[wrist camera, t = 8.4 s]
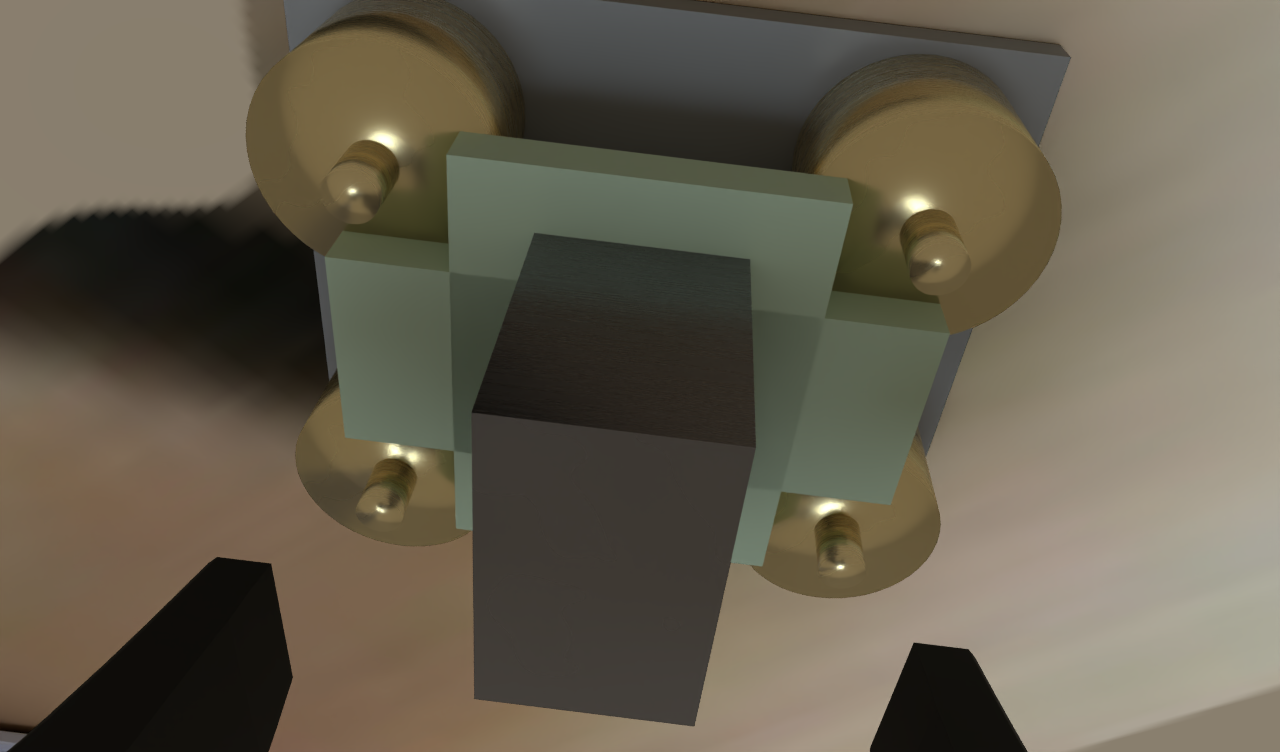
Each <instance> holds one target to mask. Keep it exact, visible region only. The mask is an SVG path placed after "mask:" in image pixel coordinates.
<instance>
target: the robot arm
mask: <svg viewBox="0 0 1280 752" xmlns="http://www.w3.org/2000/svg"><path fill="white" fill-rule="evenodd" d="M292 678H293V676H292V671H291V665H290V660H289V655H288V650H287V644H286V639H285V634H284V629H283V624H282V618H281V613H280V608H279V603H278V597H277V592H276V587H275V582H274V576H273V571H272V566H271V564H269V563H261V562H253V561H245V560H237V559H229V558H220V557H217V558H215V559H214V560H212V561H211V562H209V563H208V564H207V565H206V566H205V567H204V568H203V569H202V570H201V571H200V572H199V573H198V574H197V575H196V576H195V577H194V578H193V579H192V580H191V581H190V582H189V583H188V584H187V585H186V586H185V587H184V588H183V589H182V590H181V591H180V592H179V593H178V594H177V595H176V596H175V597H174V598H173V599H172V600H171V601H169V602H168V603H167V604H166V605H165V606H164V607H163V608H162V609H161V610H160V611H159V612H158V613H157V614H156V615H155V616H154V617H153V618H152V619H151V620H150V621H149V622H148V623H147V624H146V625H145V626H144V627H143V628H142V629H141V630H140V631H139V632H138V633H137V634H136V635H134V636H133V637H132V638H131V639H130V640H129V641H128V642H127V643H126V644H125V645H124V646H123V647H122V648H121V649H120V650H119V651H118V652H117V653H116V654H115V655H114V656H113V657H111V658H110V659H109V660H108V661H107V662H106V663H105V664H104V665H103V666H102V667H101V668H100V669H99V670H97V671H96V672H95V673H94V674H93V675H92V676H91V677H90V678H89V679H88V680H87V681H85V682H84V683H83V684H82V685H81V686H80V687H79V688H78V689H77V690H76V691H75V692H74V693H72V694H71V695H70V696H69V697H68V698H67V699H66V700H65V701H64V702H63V703H62V704H60V705H59V706H58V707H57V708H56V709H55V710H54V711H53V712H52V713H51V714H50V715H48V716H47V717H46V718H45V719H44V720H43V721H42V722H41V723H39V724H38V725H37V726H36V727H35V728H34V729H33V730H32V731H30V732H29V733H28V734H24V733H16V732H8V731H0V752H268V751H269V749H270V746H271V743H272V740H273V737H274V734H275V731H276V728H277V725H278V722H279V719H280V716H281V713H282V710H283V706H284V703H285V700H286V697H287V694H288V691H289V688H290V685H291V681H292ZM870 752H1027V750H1026V748H1025V746H1024V745H1023V743H1022V741H1021V740H1020V738H1019V736H1018V734H1017V732H1016V731H1015V729H1014V727H1013V725H1012V724H1011V722H1010V720H1009V718H1008V717H1007V715H1006V713H1005V711H1004V709H1003V708H1002V706H1001V704H1000V702H999V700H998V699H997V697H996V695H995V693H994V691H993V689H992V688H991V686H990V684H989V682H988V680H987V679H986V677H985V675H984V673H983V671H982V669H981V668H980V666H979V664H978V662H977V660H976V658H975V657H974V656H973V654H972V653H971V652H970V651H969V649H962V648H953V647H945V646H937V645H929V644H921V643H913V646H912V648H911V651H910V653H909V656H908V658H907V660H906V663H905V665H904V668H903V670H902V672H901V675H900V677H899V680H898V682H897V684H896V687H895V689H894V692H893V694H892V697H891V699H890V701H889V704H888V706H887V709H886V711H885V713H884V716H883V718H882V721H881V723H880V725H879V728H878V730H877V733H876V735H875V738H874V740H873V742H872V745H871V747H870Z"/></svg>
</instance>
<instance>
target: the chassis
mask: <svg viewBox="0 0 1280 752" xmlns="http://www.w3.org/2000/svg"><path fill="white" fill-rule="evenodd" d="M284 8H285V16H286V25H287V33H288V41H289V50H290V53H288V54H287V55H286V56H285V57H284V58H283V59H282V60H280V61H279V62H278V63H277V64H276V65H275V66H273V67H272V68H271V70H270V71H269V72H268V73H267V74H266V76H265V77H264V78H263V79H262V81H261V82H260V84H259V86H258V88H257V89H256V91H255V93H254V96H253V98H252V101H251V104H250V107H249V111H248V117H247V122H246V143H247V153H248V157H249V162H250V166H251V169H252V172H253V175H254V178H255V180H256V183H257V185H258V187H259V189H260V191H261V193H262V195H263V197H264V198H265V200H266V201H267V203H268V205H269V206H270V208H271V209H272V211H273V212H274V213H275V214H276V216H277V217H278V218H279V219H280V220H281V222H282V223H283V224H284V225H285V226H286V227H287V228H288V229H289V230H290V231H291V232H292V233H293V234H294V235H295V236H296V237H298V238H299V239H300V240H301V241H302V242H304V243H305V244H306V245H307V246H309V247H310V248H312V249H313V250H314V257H315V265H316V274H317V282H318V290H319V298H320V307H321V315H322V323H323V332H324V340H325V348H326V356H327V365H328V373H329V383H328V385H327V387H326V388H325V390H324V392H323V394H322V395H321V397H320V399H319V401H318V402H317V404H316V406H315V408H314V410H313V411H312V413H311V415H310V417H309V418H308V420H307V422H306V424H305V425H304V427H303V429H302V431H301V433H300V435H299V438H298V441H297V444H296V452H295V457H296V466H297V470H298V474H299V476H300V479H301V481H302V483H303V485H304V487H305V489H306V490H307V492H308V493H309V495H310V496H311V497H312V499H313V500H314V501H315V502H316V503H317V504H318V506H319V507H320V508H321V509H322V510H323V511H325V512H326V513H327V514H328V515H329V516H330V517H332V518H333V519H335V520H336V521H337V522H339V523H340V524H342V525H343V526H345V527H347V528H349V529H350V530H352V531H354V532H357V533H359V534H361V535H363V536H366V537H369V538H371V539H374V540H377V541H381V542H385V543H389V544H395V545H402V546H430V545H437V544H442V543H446V542H449V541H452V540H455V539H458V538H460V537H462V536H464V535H466V534H467V533H469V532H470V531H472V530H464V529H456V513H455V474H454V451H449V450H441V449H433V448H425V447H417V446H409V445H401V444H393V443H384V442H376V441H368V440H360V439H352V438H345V432H344V423H343V415H342V406H341V397H340V388H339V379H338V371H337V362H336V353H335V344H334V335H333V326H332V318H331V309H330V300H329V291H328V282H327V274H326V265H325V256H326V254H327V253H328V251H329V250H330V248H331V247H332V246H333V244H334V243H335V241H336V240H337V238H338V237H339V235H340V234H341V233H342V231H349V232H357V233H365V234H374V235H382V236H390V237H398V238H406V239H414V240H422V241H431V242H439V243H447V244H449V239H448V200H447V160H446V154H447V153H448V151H449V149H450V147H451V146H452V144H453V142H454V141H455V139H456V137H457V136H458V134H459V132H460V131H463V132H471V133H479V134H488V135H496V136H504V137H512V138H520V139H528V140H537V141H545V142H553V143H561V144H569V145H578V146H586V147H594V148H602V149H610V150H619V151H627V152H635V153H643V154H651V155H659V156H668V157H676V158H684V159H692V160H700V161H709V162H717V163H725V164H733V165H741V166H750V167H758V168H766V169H774V170H782V171H791V172H799V173H807V174H815V175H823V176H831V177H840V178H847V179H848V184H849V188H850V192H851V197H852V201H853V207H852V211H851V215H850V219H849V223H848V227H847V231H846V235H845V239H844V243H843V247H842V251H841V255H840V259H839V263H838V267H837V271H836V275H835V279H834V283H833V287H832V291H838V292H846V293H854V294H863V295H871V296H879V297H887V298H895V299H903V300H911V301H920V302H928V303H936V304H940V305H941V308H942V311H943V314H944V317H945V320H946V323H947V326H948V329H949V332H950V335H949V338H948V341H947V344H946V347H945V349H944V352H943V355H942V358H941V361H940V364H939V367H938V370H937V372H936V375H935V378H934V381H933V384H932V387H931V390H930V393H929V395H928V398H927V401H926V404H925V407H924V410H923V413H922V416H921V418H920V421H919V424H918V427H917V430H916V433H915V436H914V439H913V442H912V444H911V447H910V450H909V453H908V456H907V459H906V462H905V465H904V467H903V470H902V473H901V476H900V479H899V482H898V485H897V488H896V490H895V493H894V496H893V499H892V502H891V505H885V504H877V503H869V502H861V501H853V500H845V499H837V498H829V497H821V496H813V495H805V494H797V493H788V492H781V494H780V498H779V502H778V506H777V510H776V514H775V518H774V522H773V526H772V530H771V534H770V538H769V542H768V546H767V550H766V554H765V558H764V562H763V566H754V565H751V566H752V568H753V569H754V570H755V571H756V572H758V573H759V574H760V575H761V576H762V577H764V578H765V579H767V580H768V581H770V582H771V583H773V584H775V585H777V586H779V587H781V588H784V589H786V590H789V591H792V592H795V593H799V594H802V595H807V596H813V597H822V598H847V597H856V596H861V595H866V594H870V593H874V592H877V591H880V590H883V589H885V588H888V587H890V586H892V585H894V584H896V583H898V582H900V581H902V580H904V579H905V578H907V577H908V576H910V575H911V574H912V573H914V572H915V571H916V570H917V569H918V568H919V567H920V566H921V565H922V564H923V563H924V562H925V561H926V560H927V559H928V557H929V556H930V554H931V553H932V551H933V549H934V547H935V545H936V543H937V540H938V537H939V533H940V525H941V524H940V513H939V509H938V505H937V501H936V497H935V493H934V489H933V485H932V481H931V477H930V473H929V469H928V465H927V461H926V455H927V453H928V450H929V447H930V444H931V442H932V439H933V436H934V433H935V431H936V428H937V425H938V422H939V420H940V417H941V414H942V411H943V409H944V406H945V403H946V400H947V398H948V395H949V392H950V389H951V387H952V384H953V381H954V378H955V376H956V373H957V370H958V367H959V364H960V362H961V359H962V356H963V353H964V351H965V348H966V345H967V342H968V340H969V337H970V334H971V331H972V329H973V327H976V326H978V325H980V324H982V323H984V322H986V321H988V320H990V319H992V318H993V317H995V316H997V315H998V314H1000V313H1001V312H1003V311H1004V310H1006V309H1007V308H1008V307H1010V306H1011V305H1012V304H1014V303H1015V302H1016V301H1017V300H1018V299H1019V298H1020V297H1021V296H1022V295H1023V294H1025V293H1026V292H1027V291H1028V290H1029V288H1030V287H1031V286H1032V285H1033V284H1034V282H1035V281H1036V280H1037V279H1038V278H1039V276H1040V274H1041V273H1042V271H1043V270H1044V268H1045V267H1046V265H1047V263H1048V261H1049V259H1050V257H1051V255H1052V253H1053V251H1054V248H1055V245H1056V242H1057V239H1058V236H1059V230H1060V224H1061V206H1062V205H1061V198H1060V191H1059V187H1058V184H1057V181H1056V178H1055V175H1054V173H1053V171H1052V169H1051V167H1050V165H1049V163H1048V162H1047V160H1046V158H1045V157H1044V155H1043V154H1042V152H1041V151H1040V149H1039V144H1040V141H1041V139H1042V136H1043V133H1044V130H1045V128H1046V125H1047V122H1048V119H1049V117H1050V114H1051V111H1052V108H1053V106H1054V103H1055V100H1056V97H1057V94H1058V92H1059V89H1060V86H1061V83H1062V81H1063V78H1064V75H1065V72H1066V70H1067V67H1068V64H1069V61H1070V59H1071V57H1070V56H1069V55H1068V53H1067V52H1066V51H1065V50H1064V49H1063V48H1062V47H1061V45H1057V44H1049V43H1040V42H1032V41H1024V40H1016V39H1007V38H999V37H991V36H983V35H974V34H966V33H958V32H950V31H941V30H933V29H925V28H917V27H908V26H900V25H892V24H884V23H875V22H867V21H859V20H851V19H843V18H834V17H826V16H818V15H810V14H801V13H793V12H785V11H777V10H768V9H760V8H752V7H744V6H735V5H727V4H719V3H711V2H702V1H694V0H284Z"/></svg>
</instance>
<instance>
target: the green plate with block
mask: <svg viewBox="0 0 1280 752" xmlns="http://www.w3.org/2000/svg"><path fill="white" fill-rule="evenodd" d="M446 160H447V200H448V239H449V244H447V243H439V242H431V241H422V240H414V239H406V238H398V237H390V236H382V235H374V234H365V233H357V232H349V231H342V233H341V234H340V235H339V237H338V238H337V240H336V241H335V243H334V244H333V246H332V247H331V248H330V250H329V251H328V253H327V254H326V256H325V265H326V274H327V282H328V291H329V300H330V309H331V318H332V326H333V335H334V344H335V353H336V362H337V371H338V379H339V388H340V397H341V406H342V415H343V423H344V432H345V438H352V439H360V440H368V441H376V442H384V443H393V444H401V445H409V446H417V447H425V448H433V449H441V450H449V451H454V474H455V513H456V529H464V530H472V531H473V610H474V699H479V700H487V701H495V702H503V703H511V704H519V705H527V706H535V707H543V708H551V709H559V710H567V711H575V712H583V713H591V714H599V715H607V716H615V717H623V718H631V719H639V720H647V721H655V722H663V723H671V724H679V725H687V726H695V721H696V717H697V712H698V708H699V703H700V699H701V694H702V690H703V685H704V681H705V676H706V672H707V667H708V662H709V658H710V653H711V649H712V644H713V640H714V635H715V631H716V626H717V622H718V617H719V613H720V608H721V604H722V599H723V595H724V590H725V586H726V581H727V577H728V572H729V568H730V563H738V564H746V565H754V566H763V562H764V558H765V554H766V550H767V546H768V542H769V538H770V534H771V530H772V526H773V522H774V518H775V514H776V510H777V506H778V502H779V498H780V494H781V492H788V493H797V494H805V495H813V496H821V497H829V498H837V499H845V500H853V501H861V502H869V503H877V504H885V505H891V502H892V499H893V496H894V493H895V490H896V488H897V485H898V482H899V479H900V476H901V473H902V470H903V467H904V465H905V462H906V459H907V456H908V453H909V450H910V447H911V444H912V442H913V439H914V436H915V433H916V430H917V427H918V424H919V421H920V418H921V416H922V413H923V410H924V407H925V404H926V401H927V398H928V395H929V393H930V390H931V387H932V384H933V381H934V378H935V375H936V372H937V370H938V367H939V364H940V361H941V358H942V355H943V352H944V349H945V347H946V344H947V341H948V338H949V335H950V332H949V329H948V326H947V323H946V320H945V317H944V314H943V311H942V308H941V305H940V304H936V303H928V302H920V301H911V300H903V299H895V298H887V297H879V296H871V295H863V294H854V293H846V292H838V291H832V287H833V283H834V279H835V275H836V271H837V267H838V263H839V259H840V255H841V251H842V247H843V243H844V239H845V235H846V231H847V227H848V223H849V219H850V215H851V211H852V207H853V201H852V197H851V192H850V188H849V184H848V179H847V178H840V177H831V176H823V175H815V174H807V173H799V172H791V171H782V170H774V169H766V168H758V167H750V166H741V165H733V164H725V163H717V162H709V161H700V160H692V159H684V158H676V157H668V156H659V155H651V154H643V153H635V152H627V151H619V150H610V149H602V148H594V147H586V146H578V145H569V144H561V143H553V142H545V141H537V140H528V139H520V138H512V137H504V136H496V135H488V134H479V133H471V132H463V131H460V132H459V134H458V136H457V137H456V139H455V141H454V142H453V144H452V146H451V147H450V149H449V151H448V153H447V154H446Z"/></svg>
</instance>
